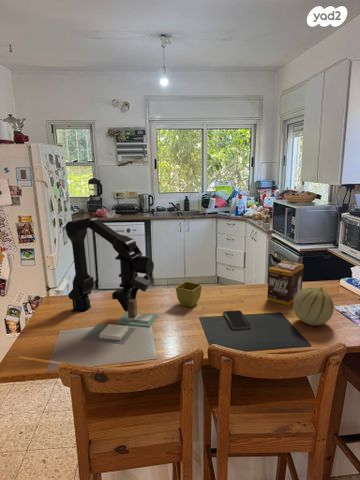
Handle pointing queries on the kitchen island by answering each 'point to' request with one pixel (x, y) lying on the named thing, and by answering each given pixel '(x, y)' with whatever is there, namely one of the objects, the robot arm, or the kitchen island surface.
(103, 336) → the tile
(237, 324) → the phone
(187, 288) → the flower pot
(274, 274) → the supplement box
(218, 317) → the kitchen island surface
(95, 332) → the mat
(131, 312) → the upright brown pillar
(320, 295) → the cantaloupe
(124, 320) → the board
